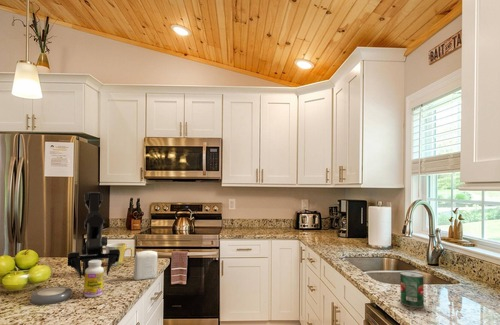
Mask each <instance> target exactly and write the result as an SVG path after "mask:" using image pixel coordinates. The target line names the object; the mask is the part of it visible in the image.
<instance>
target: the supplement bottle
mask: <svg viewBox="0 0 500 325" xmlns="http://www.w3.org/2000/svg"><path fill="white" fill-rule="evenodd" d="M88 265H89V267H88V268H87V269H86V270H85V275H84V279H83V280H84V283H83V296H84V297H85V298H96V297H99V296H101V295H103V293H104V292H103V290H104V274H105V273H104V272H105V269H104V267H103V266H102V260H91V261H89V262H88Z"/></svg>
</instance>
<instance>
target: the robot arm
mask: <svg viewBox="0 0 500 325" xmlns="http://www.w3.org/2000/svg"><path fill="white" fill-rule="evenodd" d="M83 197H84V198H83V201H84V202H85V207H86V209H87V210H88V214H86V219H85V220H84V229H85V231H86V241H85V242H84V243H83V248H81V254H80V251H73V252H72V251H71V252H69V253H68V254H67V263H66V264H67V267H71V268H74V270H75V271H76V272H77V274H78V277H79V279H82V276H85V270H86V269H87V268H88V267H89V265H88V262H89V261H91V260H101V261H102V260H107V259H108V263H107V265H106V276H109V272H110V270H111V269H112V267H113V266H112V264H115V262H118V261H119V257H120V250H119V249H111V250H109V253H106V252H105V253H104V247H105V246H107V244H108V237H107V236H103V235H102V233H103V229H104V228H105V226H107V223H106V221H105V219H104V218H103V214H102V213H100V207H101V205H102V202H103V201H104V193H102V192H99V191H87V192H86V193H84V195H83ZM102 236H103V237H102ZM81 263H82V266H81Z"/></svg>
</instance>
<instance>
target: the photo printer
mask: <svg viewBox="0 0 500 325" xmlns="http://www.w3.org/2000/svg"><path fill="white" fill-rule="evenodd" d="M133 268H134V269H133V280H135V281H140V280H141V281H142V280H148V279H155V278H157V274H158V251H154V250H141V251H139V252H137V253H135V256H134V266H133Z"/></svg>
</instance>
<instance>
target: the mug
mask: <svg viewBox="0 0 500 325" xmlns="http://www.w3.org/2000/svg"><path fill="white" fill-rule="evenodd" d="M104 247H105V253H109V250H111V249H119V250H120V257H119V261H118V262H115V264H112V266H111V267H113V266H114V267H116V266H120V265H122V264H123V262H124V261H129V260H132V259H133V255H134V249H133V247H130V246H129V247H127V243H124V242H113V243H107V246H104ZM126 250H130V251H131V252H130V253H131V254H130V257H127V258H125V254H126ZM106 263H107V264H108V259H106Z"/></svg>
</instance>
